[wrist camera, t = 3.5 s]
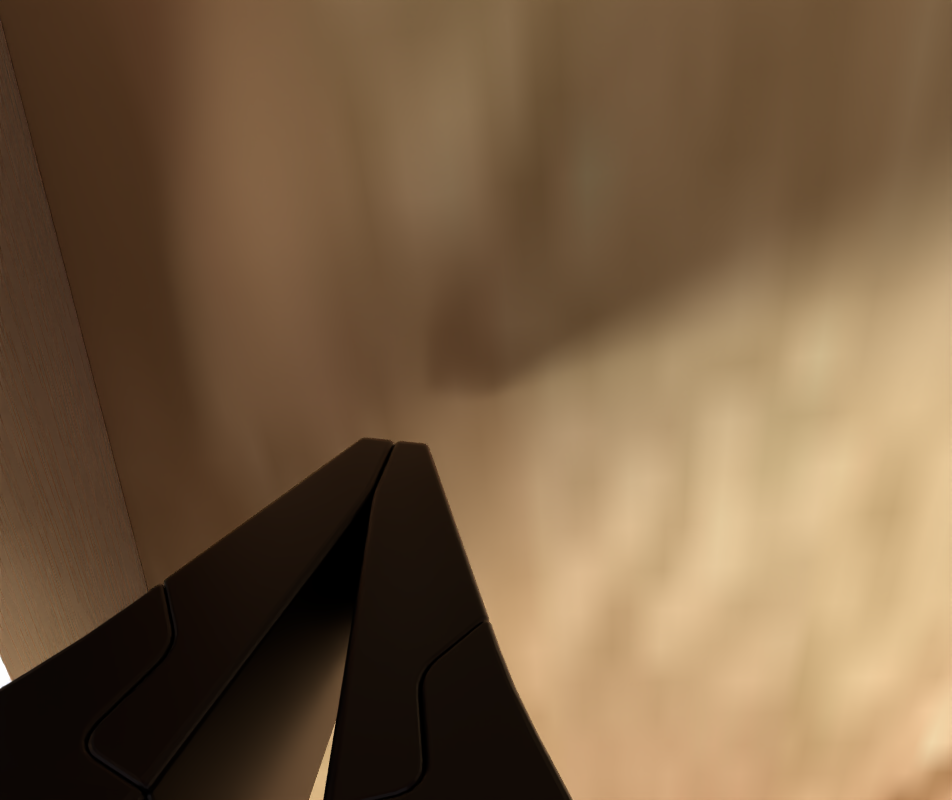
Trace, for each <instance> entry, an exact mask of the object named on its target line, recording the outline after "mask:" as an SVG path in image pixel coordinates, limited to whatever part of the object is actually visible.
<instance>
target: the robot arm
mask: <svg viewBox="0 0 952 800" xmlns="http://www.w3.org/2000/svg"><path fill="white" fill-rule="evenodd" d="M335 721H336V724H335ZM334 724H335V730H334V736H333V742H332V749H331V755H330V761H329V768H328V774H327V780H326V786H325V793H324V799H323V800H572V798H571V796H570V794H569V792H568V790H567V788H566V786H565V784H564V783H563V781H562V779H561V777H560V775H559V773H558V771H557V769H556V767H555V765H554V764H553V762H552V760H551V758H550V756H549V754H548V752H547V750H546V748H545V747H544V745H543V743H542V741H541V739H540V737H539V735H538V733H537V731H536V729H535V727H534V725H533V723H532V721H531V719H530V717H529V715H528V713H527V711H526V709H525V707H524V704H523V702H522V700H521V698H520V696H519V694H518V692H517V690H516V688H515V685H514V683H513V680H512V678H511V675H510V673H509V670H508V668H507V665H506V663H505V660H504V658H503V655H502V653H501V650H500V648H499V645H498V642H497V639H496V636H495V633H494V630H493V628H492V625H491V623H490V622H489V617H488V614H487V612H486V609H485V606H484V603H483V600H482V597H481V594H480V592H479V589H478V586H477V583H476V580H475V577H474V575H473V572H472V569H471V566H470V563H469V560H468V557H467V555H466V552H465V549H464V546H463V543H462V540H461V537H460V535H459V532H458V529H457V526H456V523H455V520H454V518H453V515H452V512H451V509H450V506H449V503H448V500H447V498H446V495H445V492H444V489H443V486H442V483H441V480H440V478H439V475H438V472H437V469H436V466H435V463H434V460H433V458H432V455H431V452H430V449H429V447H428V446H427V445H426V444H424V443H414V442H404V441H399V442H397V443H396V444H395V445H394V442H393V441H391V440H385V439H376V438H362V439H360V440H358V441H357V442H356V443H354V444H353V445H351V446H350V447H349V448H347V449H346V450H344V451H343V452H342V453H340V454H339V455H337V456H336V457H335V458H333V459H332V460H331V461H329V462H328V463H326V464H325V465H324V466H322V467H321V468H319V469H318V470H317V471H315V472H314V473H313V474H311V475H310V476H308V477H307V478H306V479H304V480H303V481H301V482H300V483H299V484H297V485H296V486H294V487H293V488H292V489H290V490H289V491H288V492H286V493H285V494H283V495H282V496H281V497H279V498H278V499H276V500H275V501H274V502H272V503H271V504H269V505H268V506H267V507H265V508H264V509H263V510H261V511H260V512H258V513H257V514H256V515H254V516H253V517H251V518H250V519H249V520H247V521H246V522H244V523H243V524H242V525H240V526H239V527H238V528H236V529H235V530H233V531H232V532H231V533H229V534H228V535H226V536H225V537H224V538H222V539H221V540H219V541H218V542H217V543H215V544H214V545H213V546H211V547H210V548H208V549H207V550H206V551H204V552H203V553H201V554H200V555H199V556H197V557H196V558H194V559H193V560H192V561H190V562H189V563H188V564H186V565H185V566H183V567H182V568H181V569H179V570H178V571H176V572H175V573H174V574H172V575H171V576H169V577H168V578H167V579H165V581H164V586H163V585H161V584H159V585H157V586H155V587H154V588H152V589H151V590H150V591H148V592H147V593H145V594H144V595H143V596H141V597H140V598H138V599H137V600H136V601H134V602H133V603H132V604H130V605H129V606H127V607H126V608H124V609H123V610H121V611H120V612H118V613H117V614H116V615H114V616H113V617H111V618H110V619H108V620H107V621H105V622H104V623H102V624H101V625H100V626H98V627H97V628H95V629H94V630H92V631H91V632H89V633H88V634H86V635H85V636H83V637H82V638H80V639H79V640H77V641H75V642H74V643H72V644H71V645H69V646H68V647H66V648H64V649H63V650H61V651H60V652H58V653H56V654H55V655H53V656H52V657H50V658H48V659H47V660H45V661H44V662H42V663H40V664H39V665H37V666H36V667H34V668H33V669H31V670H29V671H28V672H26V673H24V674H23V675H21V676H19V677H18V678H16V679H14V680H13V681H11V682H9V683H8V684H6V685H4V686H3V687H1V688H0V800H309V798H310V795H311V792H312V789H313V786H314V783H315V780H316V777H317V774H318V771H319V768H320V765H321V762H322V759H323V756H324V753H325V750H326V747H327V745H328V742H329V739H330V736H331V733H332V730H333V727H334Z"/></svg>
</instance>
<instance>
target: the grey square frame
mask: <svg viewBox="0 0 952 800" xmlns="http://www.w3.org/2000/svg"><path fill="white" fill-rule="evenodd" d="M147 592H148V590H147V586H146V582H145V578H144V574H143V570H142V566H141V563H140V559H139V555H138V551H137V547H136V543H135V539H134V535H133V532H132V528H131V524H130V520H129V516H128V512H127V508H126V504H125V500H124V497H123V493H122V489H121V485H120V481H119V477H118V473H117V469H116V466H115V462H114V458H113V454H112V450H111V446H110V442H109V438H108V435H107V431H106V427H105V423H104V419H103V415H102V411H101V407H100V403H99V400H98V396H97V392H96V388H95V384H94V380H93V376H92V372H91V369H90V365H89V361H88V357H87V353H86V349H85V345H84V341H83V338H82V334H81V330H80V326H79V322H78V318H77V314H76V310H75V306H74V303H73V299H72V295H71V291H70V287H69V283H68V279H67V275H66V272H65V268H64V264H63V260H62V256H61V252H60V248H59V244H58V241H57V237H56V233H55V229H54V225H53V221H52V217H51V213H50V209H49V206H48V202H47V198H46V194H45V190H44V186H43V182H42V178H41V175H40V171H39V167H38V163H37V159H36V155H35V151H34V147H33V144H32V140H31V136H30V132H29V128H28V124H27V120H26V116H25V112H24V109H23V105H22V101H21V97H20V93H19V89H18V85H17V81H16V78H15V74H14V70H13V66H12V62H11V58H10V54H9V50H8V47H7V43H6V39H5V35H4V31H3V27H2V23H1V19H0V688H1V687H3V686H4V685H6V684H8V683H9V682H11V681H13V680H14V679H16V678H18V677H19V676H21V675H23V674H24V673H26V672H28V671H29V670H31V669H33V668H34V667H36V666H37V665H39V664H40V663H42V662H44V661H45V660H47V659H48V658H50V657H52V656H53V655H55V654H56V653H58V652H60V651H61V650H63V649H64V648H66V647H68V646H69V645H71V644H72V643H74V642H75V641H77V640H79V639H80V638H82V637H83V636H85V635H86V634H88V633H89V632H91V631H92V630H94V629H95V628H97V627H98V626H100V625H101V624H102V623H104V622H105V621H107V620H108V619H110V618H111V617H113V616H114V615H116V614H117V613H118V612H120V611H121V610H123V609H124V608H126V607H127V606H129V605H130V604H132V603H133V602H134V601H136V600H137V599H138V598H140V597H141V596H143V595H144V594H145V593H147Z"/></svg>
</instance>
